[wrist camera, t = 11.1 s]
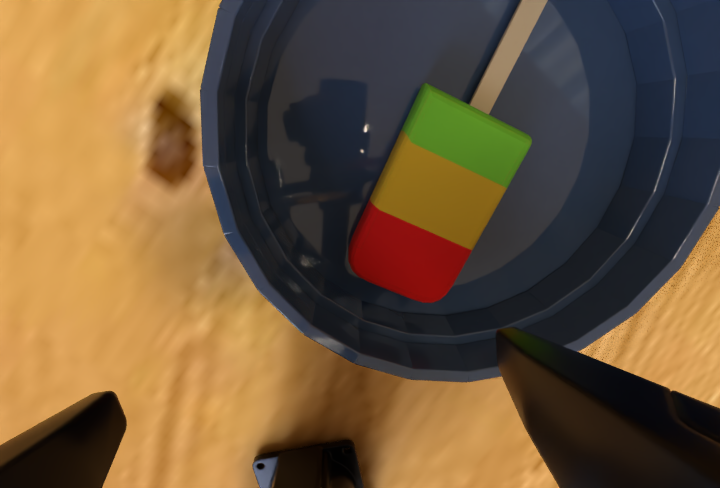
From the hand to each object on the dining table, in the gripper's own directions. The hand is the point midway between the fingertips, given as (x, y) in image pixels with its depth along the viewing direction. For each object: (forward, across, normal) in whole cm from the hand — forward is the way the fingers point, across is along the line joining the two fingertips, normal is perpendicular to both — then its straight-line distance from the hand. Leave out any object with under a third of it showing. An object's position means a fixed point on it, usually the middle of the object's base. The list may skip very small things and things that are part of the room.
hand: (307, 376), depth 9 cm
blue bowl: (+12, -6, -4) cm, 14 cm away
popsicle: (+11, -7, -4) cm, 14 cm away
